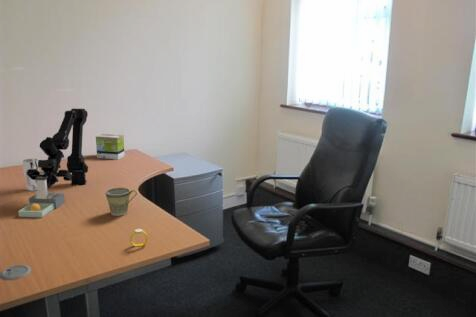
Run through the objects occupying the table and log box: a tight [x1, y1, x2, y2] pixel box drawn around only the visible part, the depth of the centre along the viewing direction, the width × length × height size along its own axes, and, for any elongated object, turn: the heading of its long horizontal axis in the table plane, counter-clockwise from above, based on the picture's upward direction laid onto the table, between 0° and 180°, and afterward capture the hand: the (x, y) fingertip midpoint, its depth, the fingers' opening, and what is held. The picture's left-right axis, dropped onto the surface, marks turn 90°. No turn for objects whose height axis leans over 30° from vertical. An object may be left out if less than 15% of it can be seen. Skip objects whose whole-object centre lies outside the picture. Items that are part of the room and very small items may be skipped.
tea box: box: [95, 133, 125, 161], centre depth 275 cm, size 15×10×15 cm
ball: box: [30, 204, 40, 211], centre depth 179 cm, size 4×4×4 cm
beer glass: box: [22, 158, 40, 192], centre depth 210 cm, size 7×7×15 cm
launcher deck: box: [28, 191, 66, 210], centre depth 189 cm, size 8×12×6 cm, turn 86°
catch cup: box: [17, 203, 55, 218], centre depth 181 cm, size 10×10×2 cm
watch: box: [129, 228, 149, 248], centre depth 150 cm, size 6×3×6 cm, turn 108°
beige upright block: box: [35, 177, 50, 199], centre depth 184 cm, size 2×4×9 cm, turn 86°
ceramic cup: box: [105, 187, 138, 217], centre depth 180 cm, size 13×10×10 cm
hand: (44, 191), depth 186 cm, fingers closed
